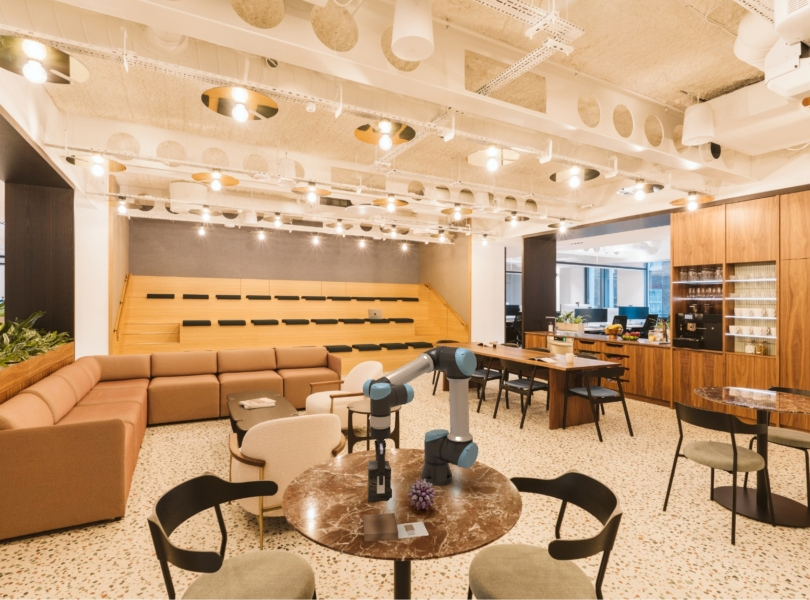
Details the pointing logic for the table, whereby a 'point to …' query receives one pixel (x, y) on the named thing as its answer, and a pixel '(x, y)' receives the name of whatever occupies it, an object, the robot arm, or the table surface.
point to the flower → (421, 494)
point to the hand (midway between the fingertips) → (380, 488)
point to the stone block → (372, 483)
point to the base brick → (380, 527)
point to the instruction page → (411, 530)
